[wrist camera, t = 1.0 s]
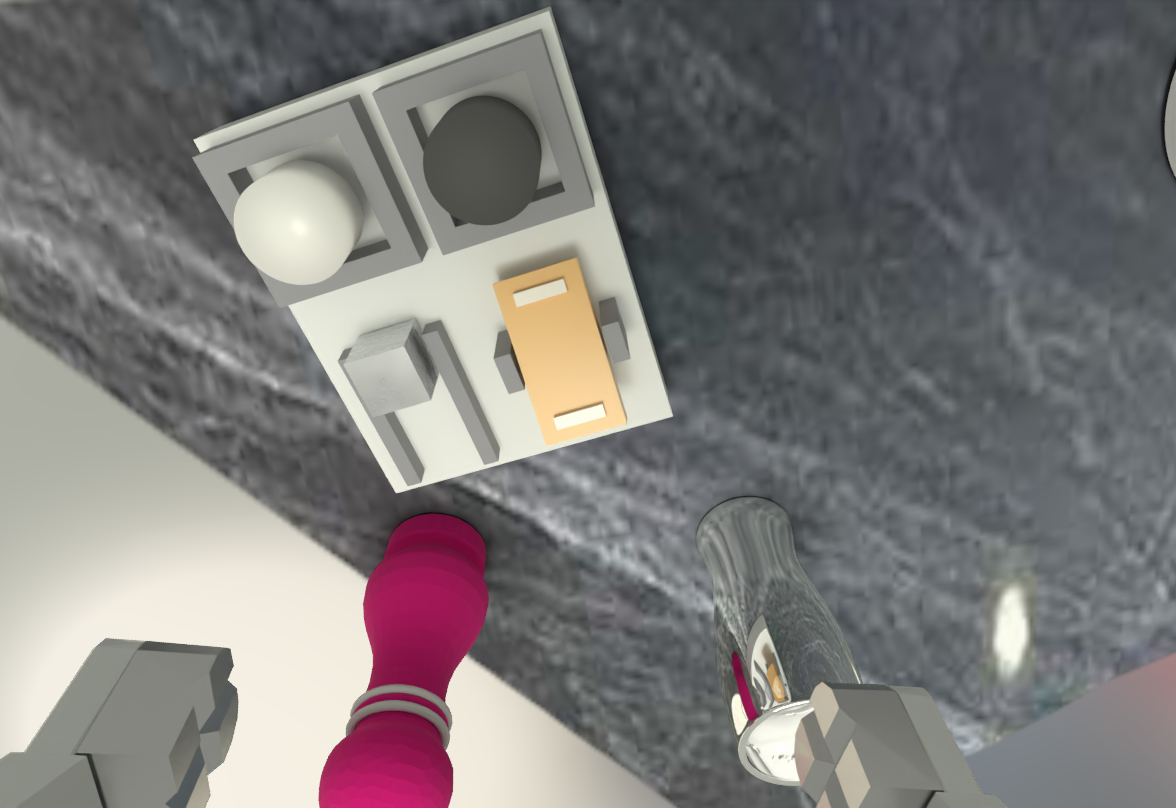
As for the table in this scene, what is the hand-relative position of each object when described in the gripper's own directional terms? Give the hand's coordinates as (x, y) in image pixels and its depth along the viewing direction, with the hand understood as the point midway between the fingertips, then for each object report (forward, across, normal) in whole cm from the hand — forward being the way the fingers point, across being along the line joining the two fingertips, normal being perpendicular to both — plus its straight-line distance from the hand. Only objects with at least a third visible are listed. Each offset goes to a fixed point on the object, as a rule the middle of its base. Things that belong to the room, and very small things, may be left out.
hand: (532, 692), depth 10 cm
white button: (+25, +10, +2) cm, 27 cm away
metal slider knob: (+27, +6, +9) cm, 29 cm away
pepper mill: (+30, +4, +24) cm, 39 cm away
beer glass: (+30, -15, +21) cm, 39 cm away
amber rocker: (+24, -2, +7) cm, 25 cm away
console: (+30, +3, +5) cm, 30 cm away
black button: (+25, +2, -2) cm, 25 cm away
